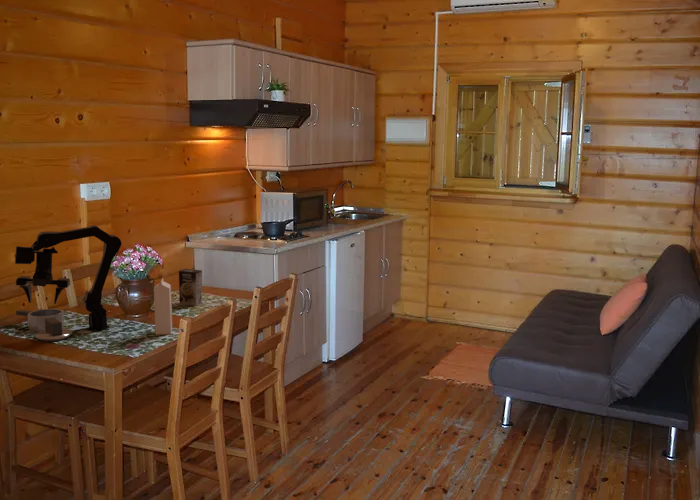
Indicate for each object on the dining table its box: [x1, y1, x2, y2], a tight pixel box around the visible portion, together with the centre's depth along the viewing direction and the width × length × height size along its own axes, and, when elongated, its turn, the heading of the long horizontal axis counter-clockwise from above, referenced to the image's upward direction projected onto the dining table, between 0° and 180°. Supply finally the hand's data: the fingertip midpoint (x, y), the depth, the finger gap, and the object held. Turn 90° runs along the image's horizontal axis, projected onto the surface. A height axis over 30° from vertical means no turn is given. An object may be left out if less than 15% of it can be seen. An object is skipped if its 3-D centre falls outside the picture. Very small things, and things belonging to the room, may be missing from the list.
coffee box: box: [178, 268, 203, 307], centre depth 317 cm, size 9×6×16 cm
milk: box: [153, 277, 173, 336], centre depth 270 cm, size 6×6×22 cm
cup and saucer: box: [34, 318, 73, 342], centre depth 264 cm, size 13×13×7 cm
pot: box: [15, 308, 65, 333], centre depth 278 cm, size 21×13×6 cm, turn 71°
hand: (42, 303), depth 265 cm, fingers open, 9 cm apart
